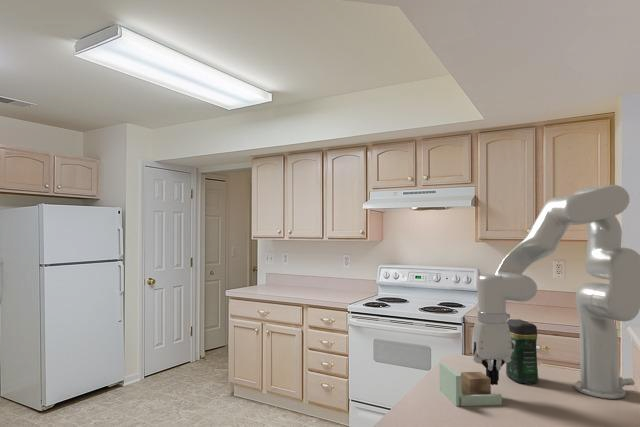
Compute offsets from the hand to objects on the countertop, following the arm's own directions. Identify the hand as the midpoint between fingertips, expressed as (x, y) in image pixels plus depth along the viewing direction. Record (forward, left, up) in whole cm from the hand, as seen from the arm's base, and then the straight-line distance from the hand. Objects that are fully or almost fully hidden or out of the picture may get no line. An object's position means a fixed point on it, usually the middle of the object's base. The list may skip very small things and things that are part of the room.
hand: (492, 383), depth 126 cm
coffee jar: (-16, -13, -4) cm, 21 cm away
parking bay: (+7, 0, -4) cm, 8 cm away
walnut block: (+5, 0, -4) cm, 6 cm away
